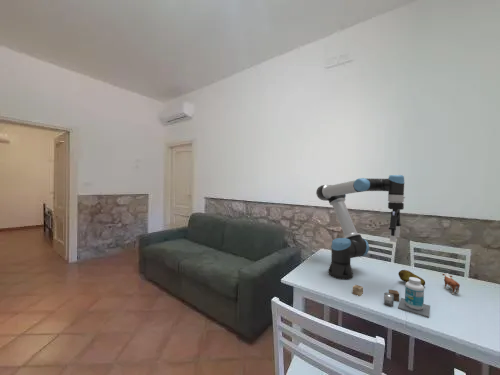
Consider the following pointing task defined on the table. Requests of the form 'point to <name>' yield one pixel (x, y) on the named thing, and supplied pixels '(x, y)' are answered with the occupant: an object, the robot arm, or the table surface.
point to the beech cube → (357, 290)
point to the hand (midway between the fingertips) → (394, 239)
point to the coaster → (422, 312)
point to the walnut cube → (395, 294)
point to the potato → (406, 275)
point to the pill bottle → (414, 293)
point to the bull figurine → (451, 283)
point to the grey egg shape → (389, 299)
